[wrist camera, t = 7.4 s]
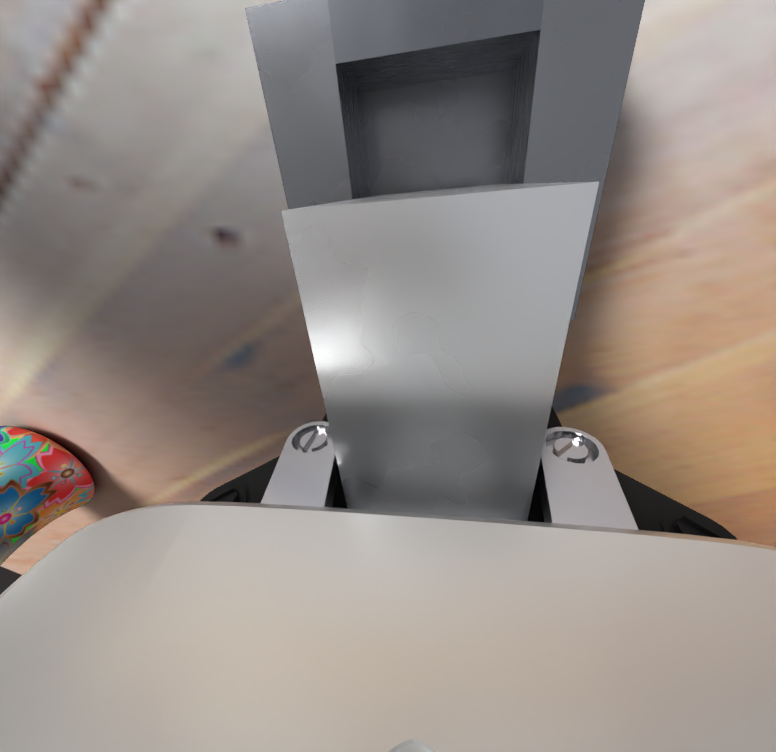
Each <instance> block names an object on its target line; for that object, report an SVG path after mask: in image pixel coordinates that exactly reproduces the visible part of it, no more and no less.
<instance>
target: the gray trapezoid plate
mask: <svg viewBox="0 0 776 752" xmlns="http://www.w3.org/2000/svg"><path fill="white" fill-rule="evenodd" d="M598 185H599V182H564V183H522V184H493V185H482V186H472V187H461V188H450V189H440V190H429V191H419V192H408V193H398V194H387V195H377V196H371V197H364V198H358V199H352V200H345V201H339V202H333V203H327V204H320V205H314V206H308V207H301V208H295V209H289V210H282V211H281V214H282V218H283V223H284V227H285V232H286V236H287V240H288V245H289V249H290V254H291V258H292V263H293V267H294V272H295V276H296V281H297V285H298V290H299V294H300V298H301V303H302V307H303V312H304V316H305V321H306V325H307V330H308V334H309V339H310V343H311V348H312V352H313V356H314V361H315V365H316V370H317V374H318V379H319V383H320V388H321V392H322V397H323V401H324V406H325V410H326V414H327V419H328V423H329V428H330V432H331V437H332V441H333V446H334V450H335V455H336V459H337V464H338V468H339V472H340V477H341V481H342V486H343V490H344V495H345V499H346V504H347V508H348V509H361V510H376V511H391V512H405V513H420V514H435V515H449V516H463V517H477V518H492V519H505V520H519V521H527V520H528V515H529V510H530V506H531V501H532V496H533V491H534V487H535V482H536V477H537V473H538V468H539V463H540V458H541V454H542V449H543V444H544V440H545V435H546V430H547V425H548V421H549V416H550V411H551V407H552V402H553V397H554V392H555V388H556V383H557V378H558V374H559V369H560V364H561V359H562V355H563V350H564V345H565V341H566V336H567V331H568V327H569V322H570V317H571V312H572V308H573V303H574V298H575V294H576V289H577V284H578V279H579V275H580V270H581V265H582V261H583V256H584V251H585V246H586V242H587V237H588V232H589V228H590V223H591V218H592V213H593V209H594V204H595V199H596V195H597V190H598Z"/></svg>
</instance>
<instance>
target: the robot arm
mask: <svg viewBox="0 0 776 752" xmlns="http://www.w3.org/2000/svg"><path fill="white" fill-rule="evenodd" d="M0 752H776V547H774V546H769V545H763V544H757V543H752V542H746V541H740V540H737V538H736V537H735V536H733V535H732V534H731V533H730V532H729V531H727V530H726V529H725V528H724V527H723V526H721V525H719V524H718V523H716V522H714V521H713V520H711V519H709V518H708V517H706V516H704V515H702V514H700V513H698V512H696V511H694V510H692V509H690V508H688V507H686V506H684V505H682V504H680V503H678V502H677V501H675V500H673V499H671V498H669V497H667V496H665V495H663V494H661V493H659V492H657V491H655V490H653V489H651V488H649V487H648V486H646V485H644V484H642V483H640V482H638V481H636V480H634V479H632V478H630V477H628V476H626V475H624V474H622V473H620V472H618V471H617V470H615V469H613V466H612V464H611V462H610V459H609V457H608V454H607V452H606V450H605V448H604V447H603V445H602V443H600V442H599V441H598V440H597V439H596V438H595V437H593V436H591V435H589V434H588V433H586V432H583V431H580V430H578V429H574V428H569V427H562V425H561V423H560V421H559V419H558V417H557V415H556V413H555V411H554V409H553V407H551V411H550V416H549V421H548V425H547V430H546V435H545V440H544V444H543V449H542V454H541V458H540V463H539V468H538V473H537V477H536V482H535V487H534V491H533V496H532V501H531V506H530V510H529V515H528V520H527V521H519V520H505V519H492V518H477V517H463V516H449V515H435V514H420V513H405V512H391V511H376V510H361V509H348V508H347V504H346V499H345V495H344V490H343V486H342V481H341V477H340V472H339V468H338V464H337V459H336V455H335V450H334V446H333V441H332V437H331V432H330V428H329V423H328V419H327V414H326V415H325V417H324V419H323V421H316V422H310V423H307V424H304V425H302V426H300V427H298V428H297V429H295V430H294V431H293V432H292V433H291V434H290V435H289V437H288V438H287V440H286V443H285V445H284V448H283V450H282V452H281V455H280V456H279V457H277V458H275V459H273V460H271V461H269V462H267V463H265V464H263V465H261V466H259V467H257V468H255V469H253V470H251V471H249V472H247V473H245V474H243V475H241V476H240V477H238V478H236V479H234V480H232V481H230V482H228V483H226V484H224V485H222V486H220V487H218V488H216V489H214V490H213V491H211V492H210V493H208V494H207V495H206V496H205V497H204V498H203V499H201V501H190V502H174V503H164V504H158V505H151V506H145V507H141V508H137V509H133V510H129V511H126V512H122V513H118V514H115V515H112V516H109V517H107V518H104V519H101V520H99V521H97V522H94V523H92V524H89V525H88V526H86V527H84V528H82V529H80V530H79V531H77V532H75V533H74V534H73V535H71V536H70V537H68V538H67V539H66V540H64V541H63V542H62V543H60V544H59V545H58V546H57V547H55V548H54V549H53V550H52V551H50V552H49V553H48V554H47V555H46V556H44V557H43V558H42V559H41V560H39V561H38V562H37V563H36V564H35V565H34V566H32V567H31V568H30V569H29V570H28V571H27V572H26V573H24V574H23V575H22V576H21V577H20V578H19V579H18V580H16V581H15V582H14V583H13V584H12V585H11V586H10V587H9V588H7V589H6V590H5V591H4V592H3V593H2V594H1V595H0Z"/></svg>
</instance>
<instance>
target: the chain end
mask: <svg viewBox="0 0 776 752" xmlns="http://www.w3.org/2000/svg"><path fill="white" fill-rule="evenodd" d="M644 2H645V0H284V1H279V2H274V3H269V4H264V5H259V6H255V7H250V8H245V10H246V15H247V19H248V24H249V29H250V33H251V38H252V42H253V47H254V52H255V56H256V61H257V66H258V70H259V75H260V79H261V84H262V89H263V93H264V98H265V103H266V107H267V112H268V116H269V121H270V126H271V130H272V135H273V140H274V144H275V149H276V153H277V158H278V163H279V167H280V172H281V177H282V181H283V186H284V190H285V195H286V200H287V204H288V209H295V208H301V207H308V206H314V205H320V204H327V203H333V202H339V201H345V200H352V199H358V198H364V197H371V196H377V195H387V194H398V193H408V192H419V191H429V190H440V189H450V188H461V187H472V186H482V185H493V184H522V183H564V182H599V185H598V190H597V195H596V199H595V204H594V209H593V213H592V218H591V223H590V228H589V232H588V237H587V242H586V246H585V251H584V256H583V261H582V265H581V270H580V275H579V279H578V284H577V289H576V294H575V298H574V303H573V308H572V312H571V317H570V320H574V318H575V313H576V309H577V304H578V300H579V295H580V291H581V286H582V282H583V277H584V273H585V268H586V264H587V259H588V255H589V250H590V246H591V241H592V237H593V232H594V228H595V223H596V219H597V214H598V210H599V205H600V201H601V196H602V192H603V187H604V182H605V178H606V173H607V169H608V164H609V160H610V155H611V151H612V146H613V142H614V137H615V133H616V128H617V124H618V119H619V115H620V110H621V106H622V101H623V97H624V92H625V88H626V83H627V79H628V74H629V70H630V65H631V61H632V56H633V52H634V47H635V42H636V38H637V33H638V29H639V24H640V20H641V15H642V11H643V6H644Z"/></svg>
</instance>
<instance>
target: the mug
mask: <svg viewBox="0 0 776 752" xmlns="http://www.w3.org/2000/svg"><path fill="white" fill-rule="evenodd" d="M94 490H95V488H94V483H93V480H92V477H91V475H90V474H89V472H88V471H87V469H86V468H85V467H84V466H83V464H82V463H81V462H80V461H79V460H78V459H77V458H76V457H75V456H74V455H72V454H71V453H70V452H69V451H67V450H66V449H65V448H63V447H62V446H60V445H59V444H57V443H55V442H54V441H52V440H50V439H48V438H46V437H44V436H42V435H40V434H37V433H35V432H32V431H29V430H26V429H22V428H18V427H12V426H0V565H1V564H2V563H3V562H4V561H5V560H6V559H7V558H8V557H9V556H10V555H11V554H12V553H13V552H14V551H15V550H16V549H17V548H18V547H20V546H21V545H22V544H23V543H24V542H25V541H26V540H28V539H29V538H30V537H31V536H32V535H34V534H35V533H36V532H38V531H39V530H40V529H42V528H43V527H44V526H46V525H47V524H49V523H50V522H52V521H53V520H55V519H57V518H58V517H60V516H62V515H63V514H65V513H67V512H69V511H71V510H73V509H76V508H78V507H81V506H83V505H85V504H87V503H88V502H89V501H90V500H91V499H92V497H93V495H94Z"/></svg>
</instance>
